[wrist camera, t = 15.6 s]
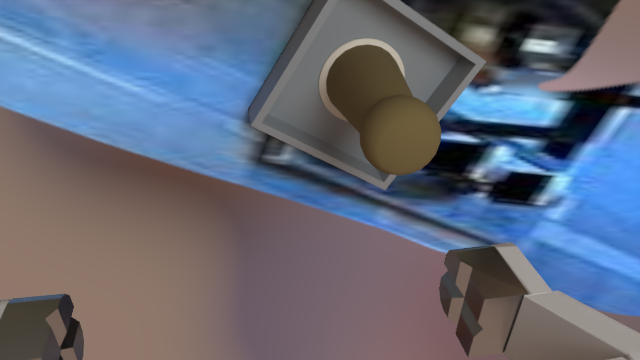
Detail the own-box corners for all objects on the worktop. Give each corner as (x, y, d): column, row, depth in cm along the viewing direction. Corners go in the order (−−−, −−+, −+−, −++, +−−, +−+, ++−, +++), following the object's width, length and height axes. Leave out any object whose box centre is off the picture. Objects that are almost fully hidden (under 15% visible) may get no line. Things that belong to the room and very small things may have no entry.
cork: (310, 88, 39) (341, 159, 30) (362, 27, 37) (412, 83, 28) (363, 129, 42) (406, 204, 33) (414, 75, 40) (474, 139, 31)
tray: (248, 109, 40) (250, 125, 38) (339, -43, 35) (349, -35, 33) (375, 171, 46) (385, 190, 43) (469, 48, 41) (486, 61, 38)
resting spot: (317, 123, 41) (318, 124, 41) (319, 39, 37) (320, 40, 37) (398, 118, 42) (399, 119, 42) (408, 36, 39) (409, 37, 38)
